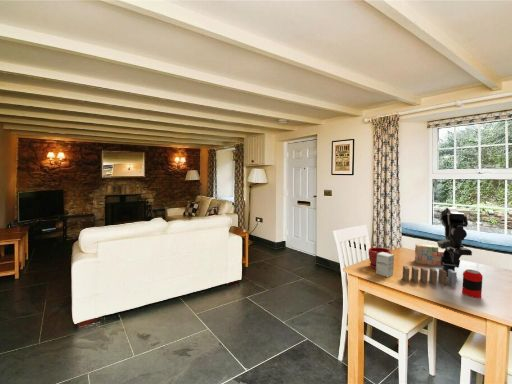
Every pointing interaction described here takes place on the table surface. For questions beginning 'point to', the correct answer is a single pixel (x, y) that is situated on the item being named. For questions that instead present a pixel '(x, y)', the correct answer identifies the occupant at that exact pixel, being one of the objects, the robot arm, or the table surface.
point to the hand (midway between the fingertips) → (454, 263)
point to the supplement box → (385, 264)
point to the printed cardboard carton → (428, 254)
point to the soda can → (472, 283)
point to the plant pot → (374, 255)
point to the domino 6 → (452, 277)
